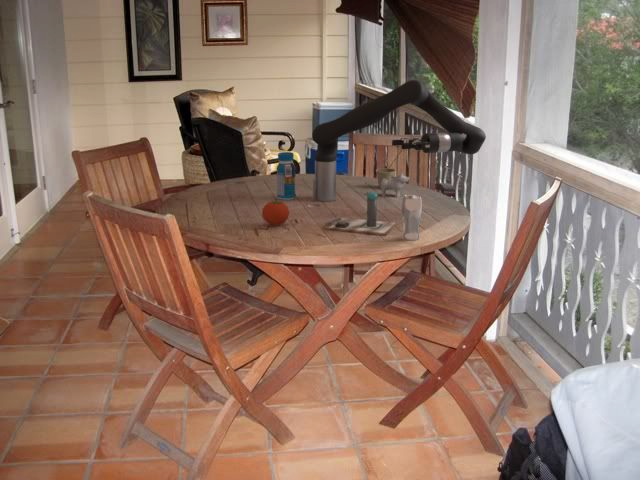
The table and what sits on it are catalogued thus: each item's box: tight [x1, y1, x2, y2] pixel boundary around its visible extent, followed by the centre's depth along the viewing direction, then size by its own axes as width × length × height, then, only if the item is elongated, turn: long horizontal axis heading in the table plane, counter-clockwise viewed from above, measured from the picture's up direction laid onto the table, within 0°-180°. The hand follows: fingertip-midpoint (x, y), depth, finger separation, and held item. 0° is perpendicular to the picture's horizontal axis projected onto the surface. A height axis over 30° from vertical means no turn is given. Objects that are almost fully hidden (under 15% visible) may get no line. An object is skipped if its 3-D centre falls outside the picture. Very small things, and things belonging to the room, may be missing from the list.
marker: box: [366, 191, 378, 227], centre depth 250 cm, size 4×4×12 cm
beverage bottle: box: [275, 151, 297, 201], centre depth 297 cm, size 8×8×20 cm
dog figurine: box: [380, 172, 410, 198], centre depth 302 cm, size 5×13×11 cm, turn 74°
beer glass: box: [401, 194, 423, 241], centre depth 236 cm, size 7×7×15 cm
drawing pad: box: [322, 216, 399, 237], centre depth 253 cm, size 24×17×3 cm
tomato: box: [261, 199, 290, 226], centre depth 255 cm, size 10×10×10 cm
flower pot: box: [375, 168, 397, 190], centre depth 318 cm, size 9×9×9 cm
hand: (396, 144), depth 253 cm, fingers open, 8 cm apart
